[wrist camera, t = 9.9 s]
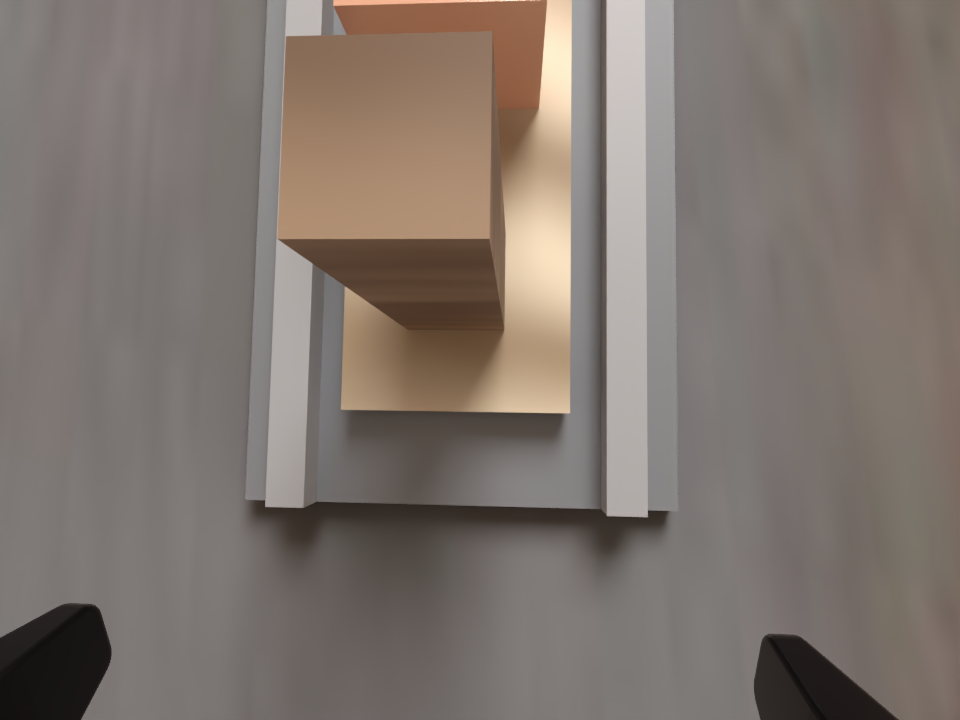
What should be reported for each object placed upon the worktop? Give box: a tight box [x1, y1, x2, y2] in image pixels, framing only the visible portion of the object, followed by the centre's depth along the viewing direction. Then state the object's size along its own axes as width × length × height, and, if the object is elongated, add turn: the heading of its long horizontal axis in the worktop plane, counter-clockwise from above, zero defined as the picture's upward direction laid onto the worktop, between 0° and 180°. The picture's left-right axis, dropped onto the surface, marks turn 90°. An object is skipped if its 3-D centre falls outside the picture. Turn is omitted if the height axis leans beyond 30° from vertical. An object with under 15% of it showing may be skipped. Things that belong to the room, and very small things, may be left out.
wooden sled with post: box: [277, 0, 572, 413], centre depth 14 cm, size 16×7×11 cm, turn 179°
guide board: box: [245, 0, 678, 517], centre depth 20 cm, size 30×14×2 cm, turn 179°
